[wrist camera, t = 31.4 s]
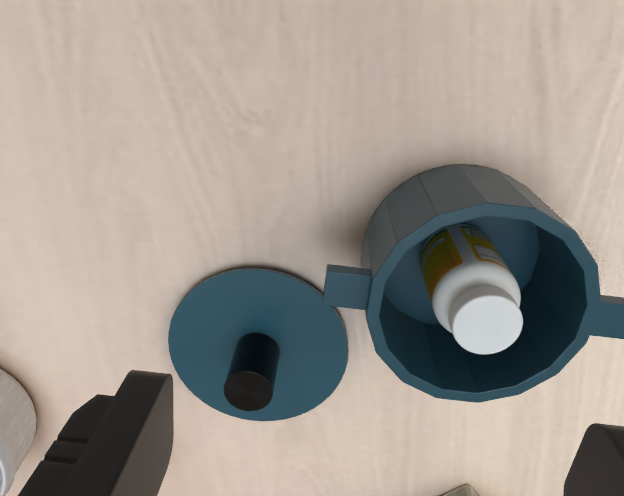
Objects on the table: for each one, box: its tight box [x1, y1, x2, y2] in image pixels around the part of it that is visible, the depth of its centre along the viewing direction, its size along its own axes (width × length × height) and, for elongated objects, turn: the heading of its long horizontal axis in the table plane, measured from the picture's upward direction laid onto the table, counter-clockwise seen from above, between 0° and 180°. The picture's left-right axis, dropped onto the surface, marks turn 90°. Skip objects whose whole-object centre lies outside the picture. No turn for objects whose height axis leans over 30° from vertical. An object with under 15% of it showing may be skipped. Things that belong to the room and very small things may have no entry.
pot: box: [323, 164, 624, 402], centre depth 35 cm, size 14×19×8 cm
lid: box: [168, 268, 348, 421], centre depth 40 cm, size 15×15×6 cm
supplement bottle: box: [420, 224, 523, 354], centre depth 34 cm, size 5×5×10 cm
